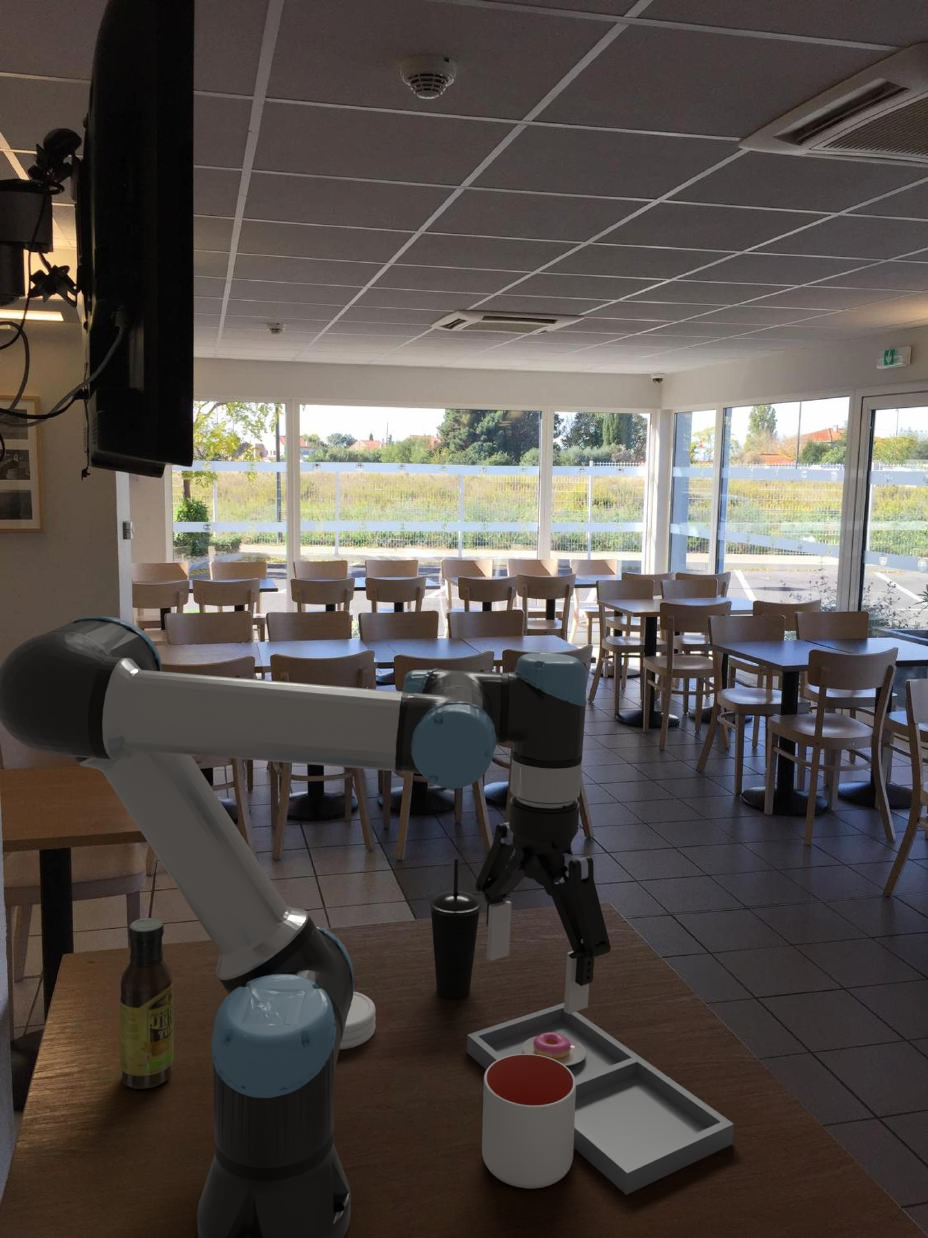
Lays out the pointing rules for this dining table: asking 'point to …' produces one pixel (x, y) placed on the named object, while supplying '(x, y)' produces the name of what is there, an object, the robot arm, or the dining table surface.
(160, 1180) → the dining table surface
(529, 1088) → the cup
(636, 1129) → the carrier tray
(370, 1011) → the white plate stack
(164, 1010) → the sauce bottle
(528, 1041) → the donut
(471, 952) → the drinking cup
